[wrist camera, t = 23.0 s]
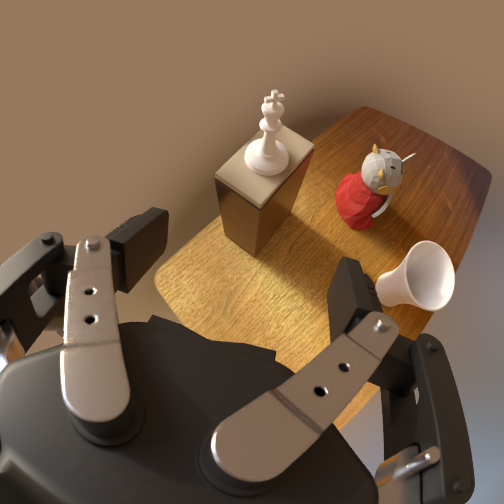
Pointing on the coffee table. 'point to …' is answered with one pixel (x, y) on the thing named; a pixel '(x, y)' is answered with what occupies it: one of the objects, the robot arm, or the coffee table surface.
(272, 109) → the chess piece
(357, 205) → the figurine
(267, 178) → the rectangular box
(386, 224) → the coffee table surface
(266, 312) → the coffee table surface
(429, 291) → the cup
